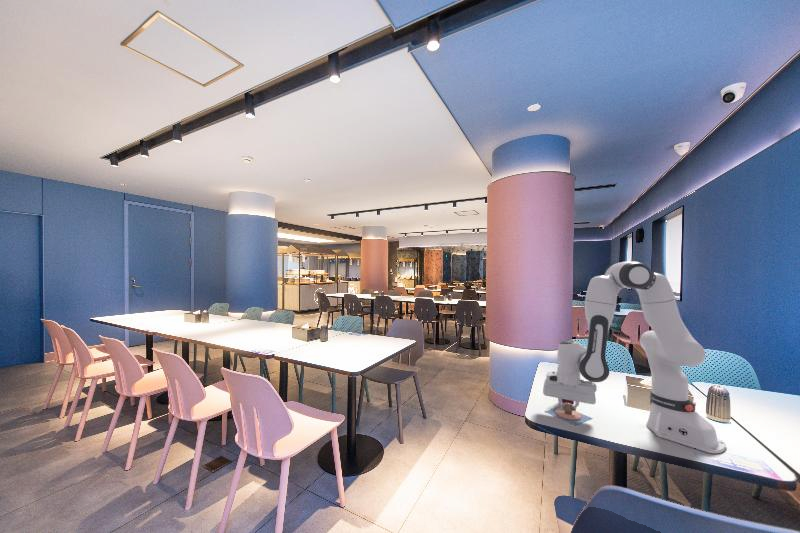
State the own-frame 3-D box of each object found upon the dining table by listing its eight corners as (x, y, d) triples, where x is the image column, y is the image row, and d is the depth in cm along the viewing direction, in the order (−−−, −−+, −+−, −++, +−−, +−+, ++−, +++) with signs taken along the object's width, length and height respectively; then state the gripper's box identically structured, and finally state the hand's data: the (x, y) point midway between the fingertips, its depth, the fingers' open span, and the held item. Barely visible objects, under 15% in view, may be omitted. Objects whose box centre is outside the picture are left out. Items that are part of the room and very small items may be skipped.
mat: (593, 419, 130) (593, 418, 130) (575, 426, 124) (575, 425, 124) (561, 406, 142) (561, 405, 142) (544, 412, 136) (544, 411, 136)
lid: (586, 417, 131) (586, 405, 131) (573, 422, 126) (573, 411, 126) (563, 407, 140) (563, 397, 140) (550, 412, 135) (550, 401, 135)
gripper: (595, 379, 131) (595, 412, 131) (543, 371, 141) (543, 401, 141) (597, 384, 126) (597, 418, 125) (542, 375, 135) (542, 407, 135)
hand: (568, 409), depth 133 cm, fingers closed on lid, 3 cm apart
